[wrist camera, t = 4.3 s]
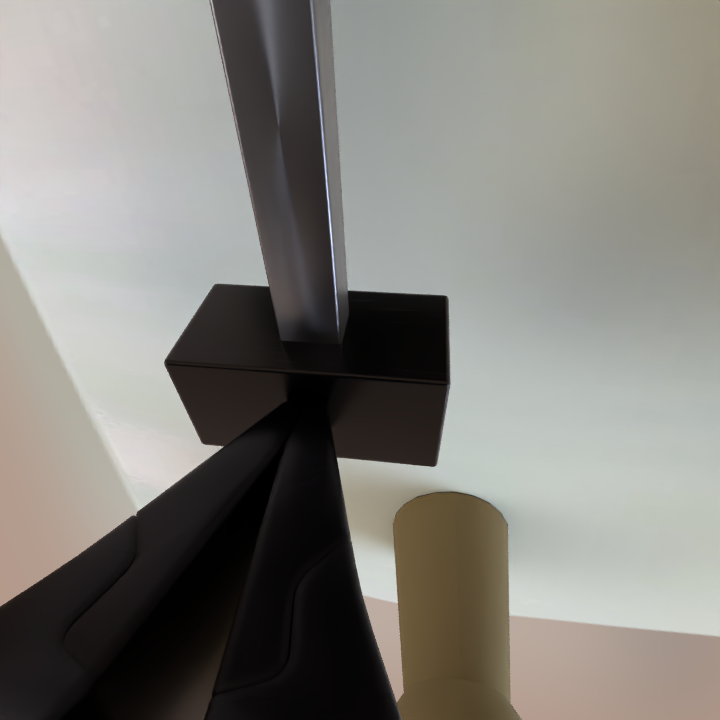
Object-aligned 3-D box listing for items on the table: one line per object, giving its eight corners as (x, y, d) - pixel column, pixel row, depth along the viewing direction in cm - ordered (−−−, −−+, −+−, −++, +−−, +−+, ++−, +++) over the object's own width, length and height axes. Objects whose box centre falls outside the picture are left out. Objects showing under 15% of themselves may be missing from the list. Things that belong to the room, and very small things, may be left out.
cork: (478, 575, 25) (505, 860, 16) (378, 545, 25) (348, 817, 16) (530, 513, 22) (601, 830, 13) (415, 478, 22) (403, 775, 12)
